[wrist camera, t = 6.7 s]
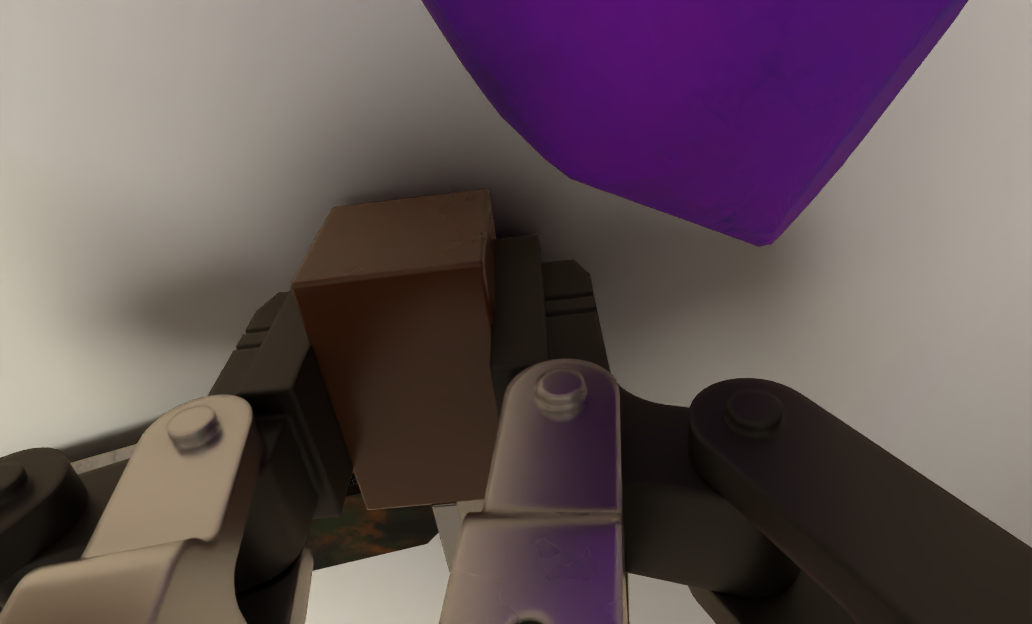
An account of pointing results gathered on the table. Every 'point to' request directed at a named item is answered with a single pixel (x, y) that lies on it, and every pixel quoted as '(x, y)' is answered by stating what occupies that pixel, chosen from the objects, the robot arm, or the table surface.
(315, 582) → the table surface
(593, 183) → the purple pointed teardrop
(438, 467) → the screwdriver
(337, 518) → the knife
